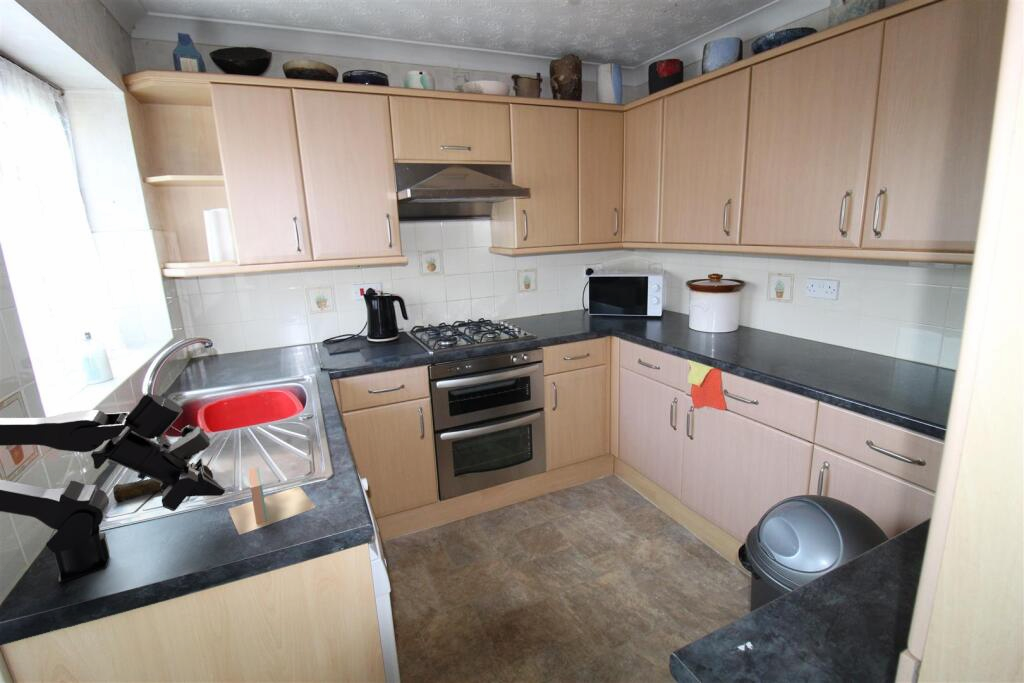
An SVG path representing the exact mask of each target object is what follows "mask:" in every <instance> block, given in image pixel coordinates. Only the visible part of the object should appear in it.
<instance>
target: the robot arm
mask: <svg viewBox="0 0 1024 683" xmlns="http://www.w3.org/2000/svg"><path fill="white" fill-rule="evenodd" d="M183 412H184V410H183V408H182V407H181V406H180V405H179V404H178V403H177V402H176V401H174V400H172V399H170V398H168V397H164V396H161V395H157V394H152V393H150V392H149V391H148V392H145V393H144V394H143V395H142V396H141V398H140V400H139V402H137V404H136V405H135V406H134V407H132V410H130V411H124V412H110V413H109V412H107V413H105V412H104V411H101V410H96V409H89V410H88V409H87V410H80V411H71V412H66V413H62V414H57V415H53V416H45V417H0V446H43V447H48V448H51V449H54V450H57V451H65V452H66V451H67V452H73V453H75V452H76V453H88V452H91V454H90V456H91V458H92V462H93V467H94V469H95V470H98V469H100V468H101V467H102V466H103V464H105V462H106V461H110V462H113V463H115V464H117V465H119V466H122V467H124V468H125V469H128V470H130V471H134V472H136V473H137V476H136V477H137V478H138V479H140V480H145V478H146V477H147V478H148V479H153V480H155V481H158V482H160V483H161V485H160V487H161V488H163V489H166V490H163V491H162V492H163V493H162V497H161V505H162V507H163V508H165V509H167V510H170V511H171V512H174V511H176V510H177V509H178V507H180V505H181V504H182V503H183V501H184V500H185V499H186V498H189V497H205V496H206V497H215V496H216V497H220V496H223V495H224V494H225V492H226V489H225V488H224V487H223V486H222V485H221V484H220V483H218V482H217V481H216V480H215V479H214V477H213V478H211V477H210V476H209V475H208V474H207V473H206V472H205V471H204V469H203V465H204V464H203V458H199V459H198V460H197V462H196V463H195V462H192V463H190V460H191V459H192V458H193V456H195V455H197V454H199V453H200V452H201V451H202V452H203V451H205V450H206V449H208V448H209V447H210V445H211V443H210V440H211V438H210V437H209V436H208V435H207V434H206V432H205V429H204V428H201V427H200V426H198V425H197V426H194V425H191V424H188V425H186V426H185V427H183V428H181V430H180V431H181V432H180V433H181V437H178V439H177V440H176V441H174V442H173V443H169V442H167V441H161V443H160V444H159V443H158V442H155V441H154V440H155V438H161V437H162V436H164V434H165V433H166V432H167V431H168V429H170V427H171V426H172V425H173V423H175V421H176V420H178V418H179V417H180V415H182V414H183ZM126 427H127V428H126ZM125 429H126V430H125ZM123 431H124V432H123ZM121 433H122V434H121ZM151 439H152V440H151ZM153 439H154V440H153ZM105 442H106V443H105ZM104 443H105V444H104ZM103 444H104V445H103ZM100 446H103V447H102V448H99V447H100ZM170 483H171V484H170ZM169 484H170V485H169ZM97 487H98V485H97V484H84V483H83V482H82V483H81V482H79V481H76V480H69V481H68V483H67V484H66V486H65V487H62V488H61V487H60V488H59V487H58V488H46V487H42V486H41V487H40V486H36V485H31V484H25V483H20V482H15V481H11V480H5V479H0V513H7V514H13V515H19V516H24V517H31V518H34V519H36V520H38V521H39V522H41V523H42V524H44V525H45V526H47V527H48V528H50V529H52V533H50V536H49V538H48V539H47V541H46V544H45V546H46V547H47V548H48V549H49V550H50V551H51V552H52V553H53V555H54V558H55V559H54V560H55V563H56V566H57V569H58V573H59V574H58V575H59V576H58V583H59V584H61V583H65V582H69V581H70V580H74V579H77V578H80V577H83V576H85V575H89V574H92V573H95V572H97V571H100V570H103V569H106V567H108V560H109V559H110V557H111V556H110V547H109V542H108V538H107V535H106V534H107V533H106V532H101V527H100V525H101V524H102V522H103V519H104V517H105V514H106V512H107V510H108V507H109V505H110V504H109V503H110V498H109V497H108V495H107V492H105V491H104V490H102V489H100V488H97Z"/></svg>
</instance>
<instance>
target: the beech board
mask: <svg viewBox="0 0 1024 683" xmlns="http://www.w3.org/2000/svg"><path fill="white" fill-rule="evenodd" d="M264 502H265V509H266V515H267V521H266V522H263V523H259V524H256V519H255V512H254V506H253V500H252V501H248V502H245V503H243V504H240V505H236V506H234V507H230V508H228V509H227V510H228V512H229V515H230V517H231V520H232V521H233V523H234V526H235V528H236V530H237V533H238V535H239V536H241V535H243V534H246V533H249V532H252V531H254V530H259V529H260V528H264V527H266V526H268V525H271V524H274V523H278V522H280V521H283V520H286V519H289V518H291V517H295V516H297V515H300V514H304V513H305V512H309V511H311V510H315V509H317V508H316V506H315V504H314V503H313V502H312V501H311V499H310V498H309V496H308V495H307V494H306V493H305V491H304V490H303V489H302V488H301V486H299V485H298V486H296V487H293V488H288V489H285V490H282V491H281V492H280V491H279V492H277V493H273V494H270V495H267V496H264Z"/></svg>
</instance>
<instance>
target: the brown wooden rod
mask: <svg viewBox="0 0 1024 683" xmlns="http://www.w3.org/2000/svg"><path fill="white" fill-rule="evenodd" d="M203 469H204V471H205V472H206V473H207V474H208V475H209V476H210V477H211V478H213V479H214V476H213V472H212V470H211V469H210V468H209V467H208V466H207V465H205V464H203ZM170 484H171V483H170ZM170 484H169V485H170ZM160 485H161V483H160V482H158V481H155V480H153V479H151V478H147V479H140V480H136V481H131V482H127V483H123V484H119V483H117V484H115V485H114V486H113V487H112V489H113V498H114V501H115V502H116V503H117V502H118V501H119V502H120V501H127V500H128V499H131V498H136V497H139V496H144V495H148V494H154V493H157V492H164V491H165V490H166V489H163V488H161V487H160ZM119 502H118V503H119Z"/></svg>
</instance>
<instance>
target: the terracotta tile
mask: <svg viewBox="0 0 1024 683" xmlns="http://www.w3.org/2000/svg"><path fill="white" fill-rule="evenodd" d="M247 470H248V471H247V472H248V481H249V487H250V494H251V499H252V501H253V506H254V512H255V519H256V524H259V523H263V522H266V521H267V515H266V509H265V502H264V497H265V496H264V490H263V484H262V479H261V473H260V468H259V467H254V468H250V469H247Z"/></svg>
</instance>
